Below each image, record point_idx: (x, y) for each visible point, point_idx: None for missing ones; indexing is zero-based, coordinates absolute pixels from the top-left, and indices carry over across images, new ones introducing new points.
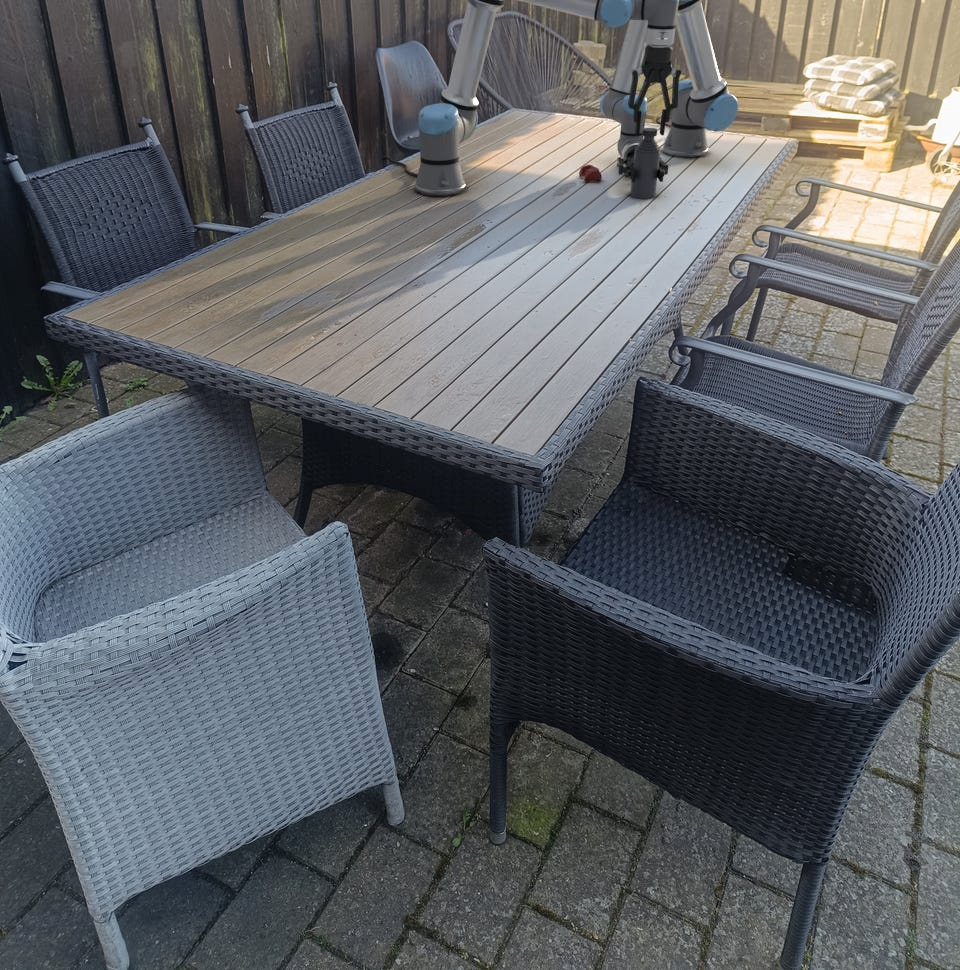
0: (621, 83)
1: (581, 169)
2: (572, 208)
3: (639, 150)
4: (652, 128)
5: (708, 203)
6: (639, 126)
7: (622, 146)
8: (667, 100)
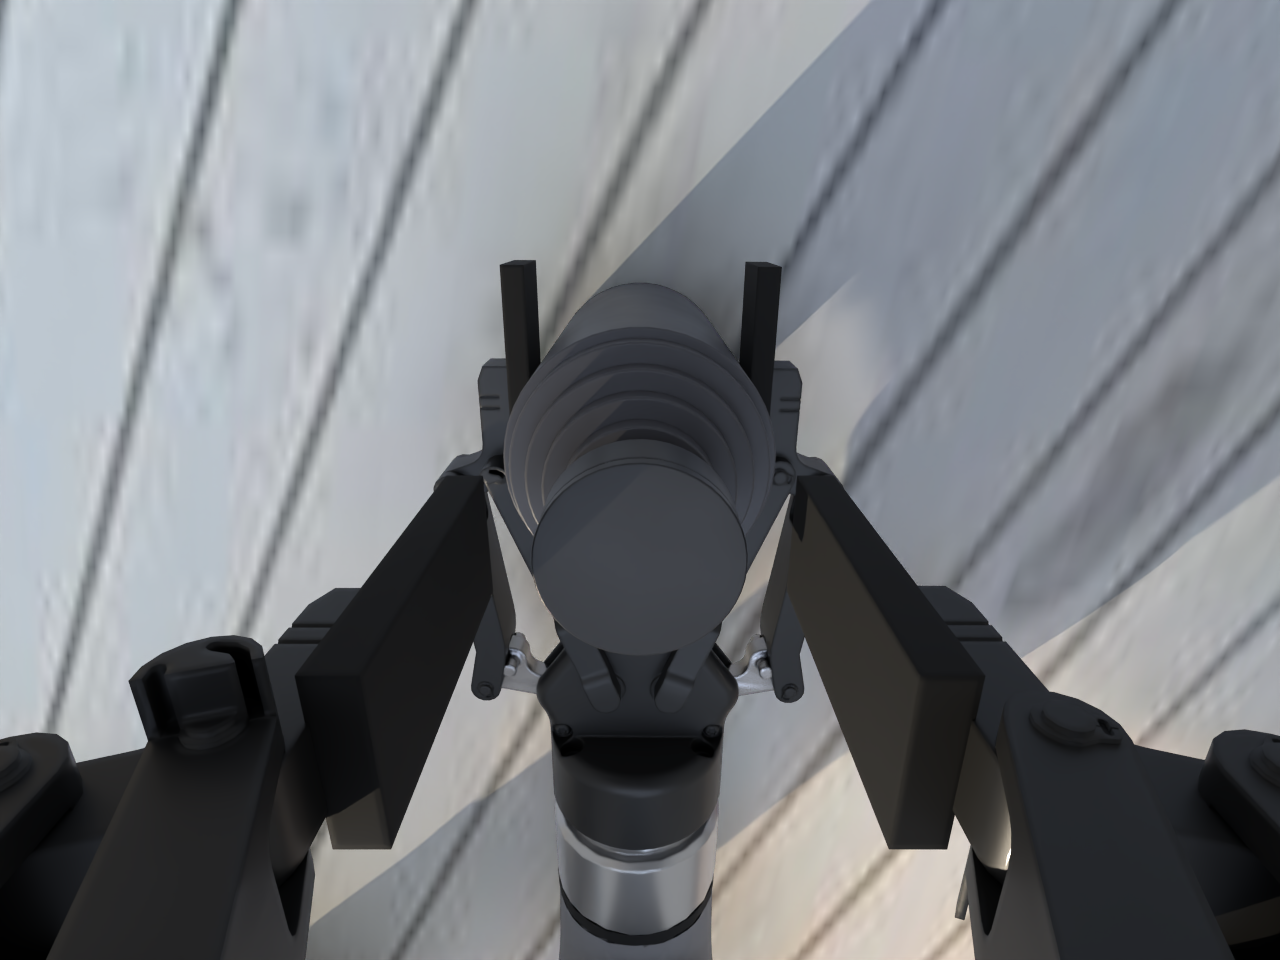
0: None
1: None
2: (1221, 53)
3: (748, 397)
4: (592, 616)
5: (200, 163)
6: (839, 523)
7: (708, 912)
8: (145, 923)
